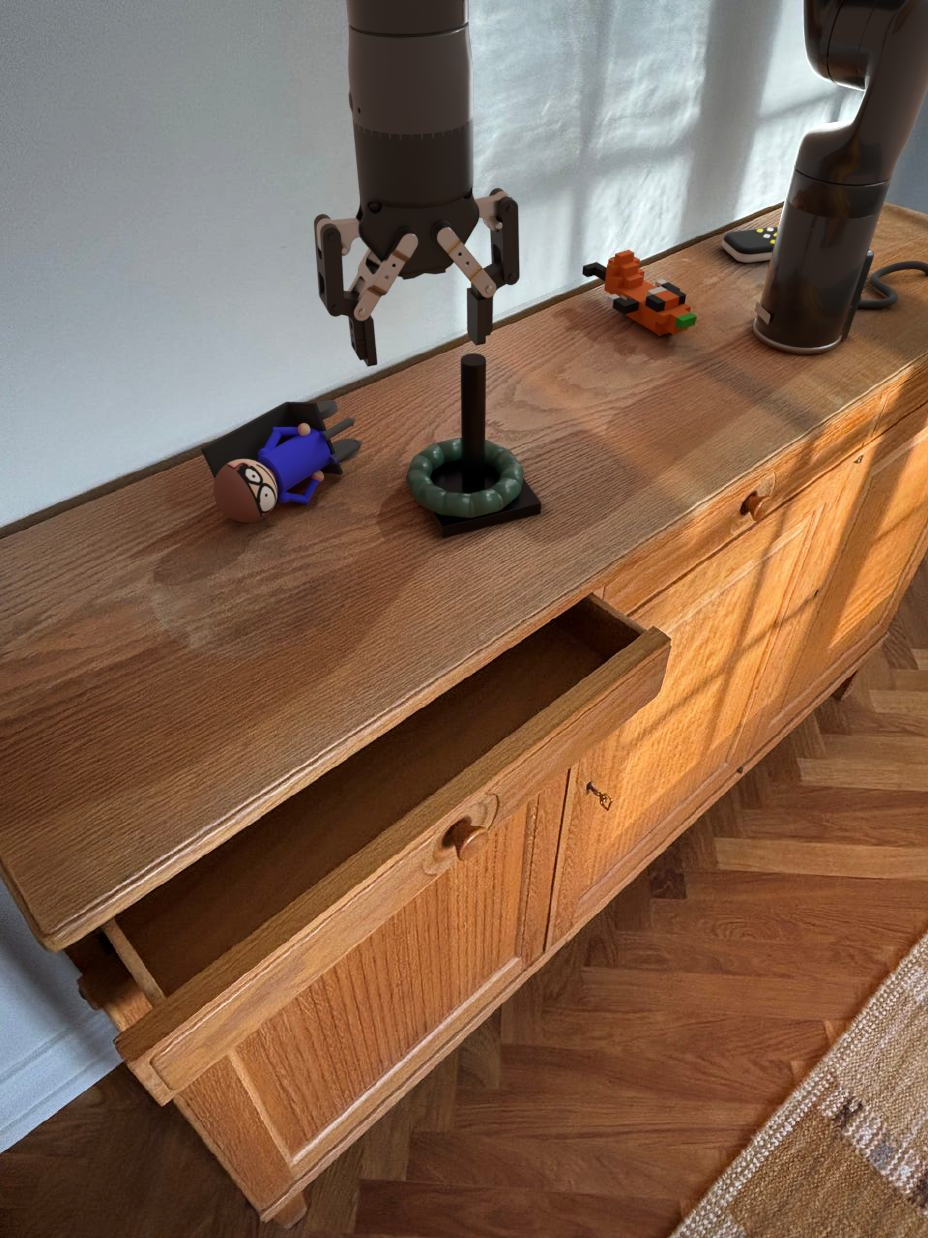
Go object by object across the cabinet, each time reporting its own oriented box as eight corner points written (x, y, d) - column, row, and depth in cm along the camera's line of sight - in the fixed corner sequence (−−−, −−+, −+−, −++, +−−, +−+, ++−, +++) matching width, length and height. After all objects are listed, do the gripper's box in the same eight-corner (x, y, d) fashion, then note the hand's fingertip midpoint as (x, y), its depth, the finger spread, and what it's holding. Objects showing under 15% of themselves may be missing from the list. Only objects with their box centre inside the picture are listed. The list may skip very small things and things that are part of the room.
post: (500, 456, 81) (504, 323, 71) (540, 513, 75) (550, 375, 65) (409, 478, 78) (400, 343, 69) (442, 538, 73) (438, 399, 63)
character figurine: (378, 473, 79) (248, 556, 72) (324, 439, 82) (194, 514, 75) (375, 401, 74) (233, 483, 66) (317, 367, 77) (175, 441, 69)
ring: (496, 443, 80) (496, 424, 79) (541, 505, 74) (542, 486, 72) (393, 466, 78) (391, 447, 76) (430, 533, 71) (429, 514, 70)
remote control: (717, 245, 113) (720, 230, 112) (805, 235, 115) (809, 220, 114) (739, 265, 109) (742, 249, 108) (830, 254, 111) (834, 238, 110)
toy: (632, 234, 101) (723, 282, 92) (625, 284, 106) (712, 334, 97) (577, 250, 98) (665, 300, 89) (573, 301, 103) (657, 354, 94)
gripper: (315, 142, 49) (345, 394, 61) (543, 112, 53) (530, 356, 64) (285, 105, 54) (319, 345, 66) (496, 80, 58) (492, 312, 69)
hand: (423, 350), depth 65 cm, fingers open, 8 cm apart
